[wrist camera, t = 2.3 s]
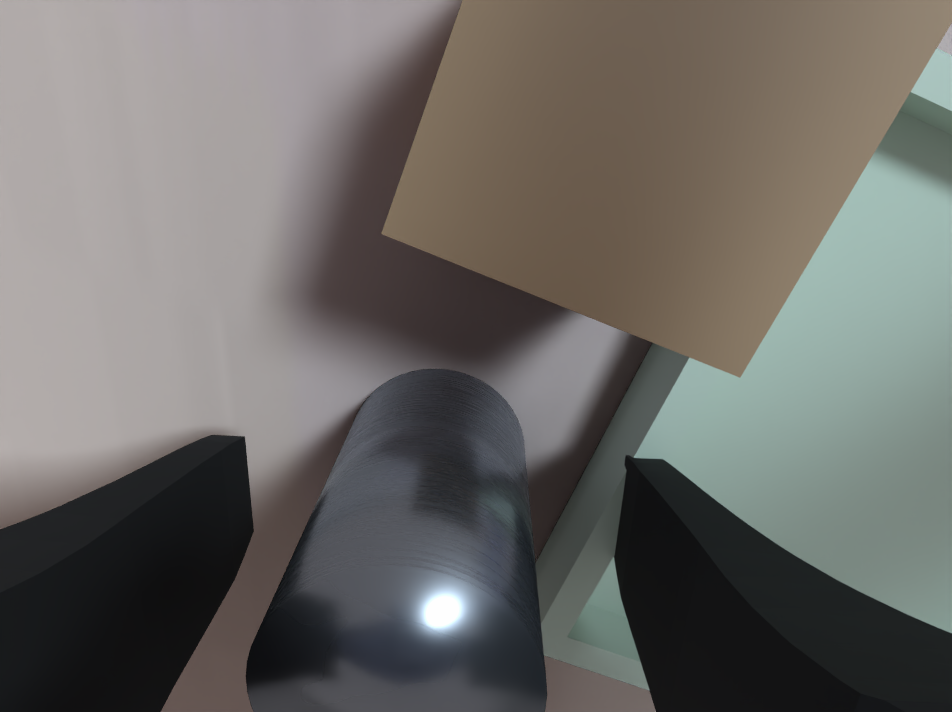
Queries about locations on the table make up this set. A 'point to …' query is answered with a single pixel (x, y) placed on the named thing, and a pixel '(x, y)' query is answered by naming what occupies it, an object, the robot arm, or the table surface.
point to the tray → (804, 413)
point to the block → (657, 152)
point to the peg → (412, 566)
